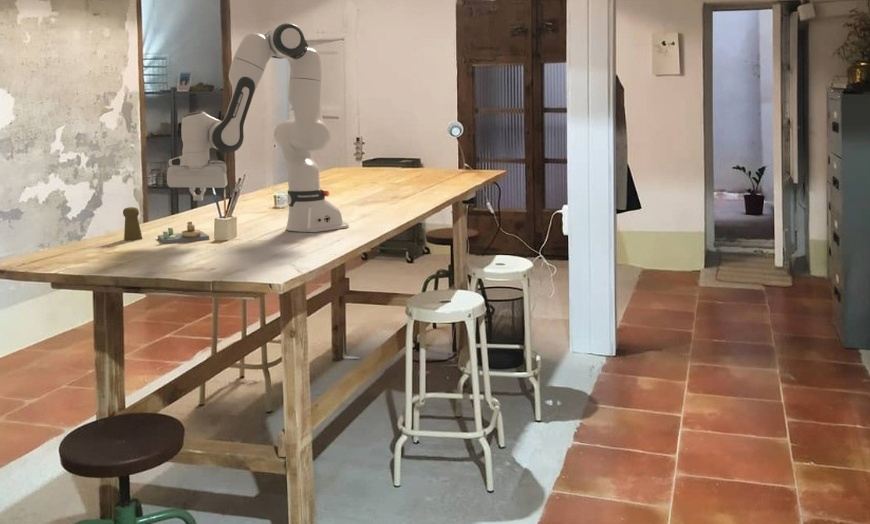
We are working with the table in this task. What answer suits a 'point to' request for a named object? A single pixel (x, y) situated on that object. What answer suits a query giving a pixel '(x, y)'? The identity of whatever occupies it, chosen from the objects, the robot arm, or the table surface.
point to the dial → (190, 231)
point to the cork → (131, 224)
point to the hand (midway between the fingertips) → (198, 200)
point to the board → (179, 237)
